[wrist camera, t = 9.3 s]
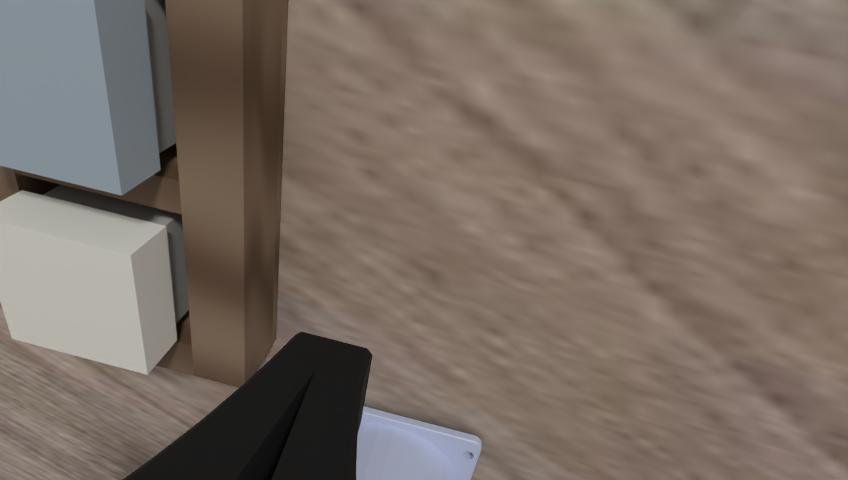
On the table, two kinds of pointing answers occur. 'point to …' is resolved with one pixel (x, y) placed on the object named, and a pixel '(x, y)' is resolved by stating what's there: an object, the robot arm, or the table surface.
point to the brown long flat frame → (218, 180)
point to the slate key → (85, 90)
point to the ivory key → (92, 275)
